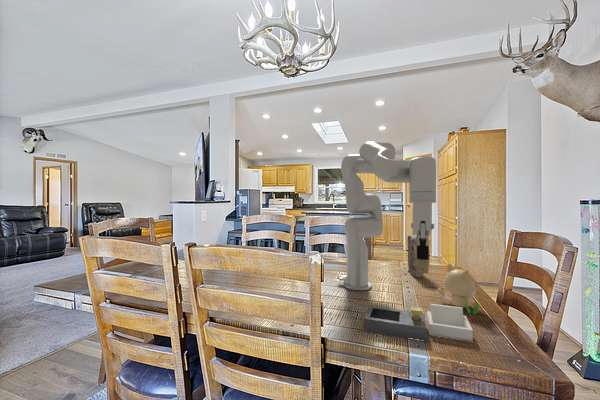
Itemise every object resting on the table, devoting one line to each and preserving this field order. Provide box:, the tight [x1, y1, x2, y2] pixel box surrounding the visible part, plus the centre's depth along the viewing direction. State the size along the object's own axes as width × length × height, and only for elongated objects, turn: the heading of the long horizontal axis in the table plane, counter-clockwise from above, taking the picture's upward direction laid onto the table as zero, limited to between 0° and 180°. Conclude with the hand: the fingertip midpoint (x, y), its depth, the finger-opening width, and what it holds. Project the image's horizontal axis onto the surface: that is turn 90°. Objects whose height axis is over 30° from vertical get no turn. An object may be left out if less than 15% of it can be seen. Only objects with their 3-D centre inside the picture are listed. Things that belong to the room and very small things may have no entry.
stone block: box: [406, 234, 424, 278], centre depth 146 cm, size 13×7×20 cm, turn 177°
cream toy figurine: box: [437, 263, 479, 315], centre depth 103 cm, size 15×10×15 cm
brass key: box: [410, 306, 423, 321], centre depth 84 cm, size 3×3×7 cm
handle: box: [410, 222, 435, 275], centre depth 85 cm, size 5×6×15 cm
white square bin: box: [426, 303, 474, 344], centre depth 84 cm, size 11×10×6 cm
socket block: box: [363, 305, 428, 342], centre depth 86 cm, size 17×10×4 cm, turn 69°
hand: (422, 257), depth 85 cm, fingers closed on handle, 3 cm apart
